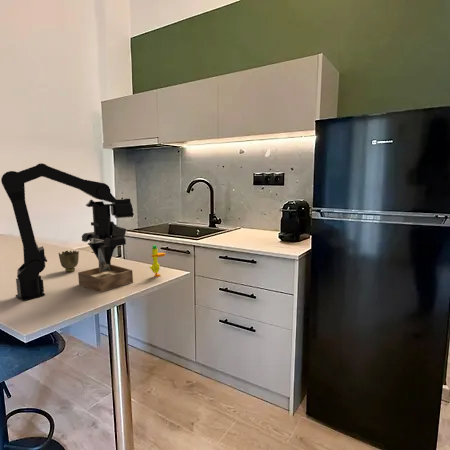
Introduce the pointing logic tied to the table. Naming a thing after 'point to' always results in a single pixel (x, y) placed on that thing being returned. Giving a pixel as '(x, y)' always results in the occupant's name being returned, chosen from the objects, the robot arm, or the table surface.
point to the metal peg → (103, 262)
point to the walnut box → (105, 278)
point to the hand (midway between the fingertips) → (104, 262)
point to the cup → (69, 260)
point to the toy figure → (155, 255)
